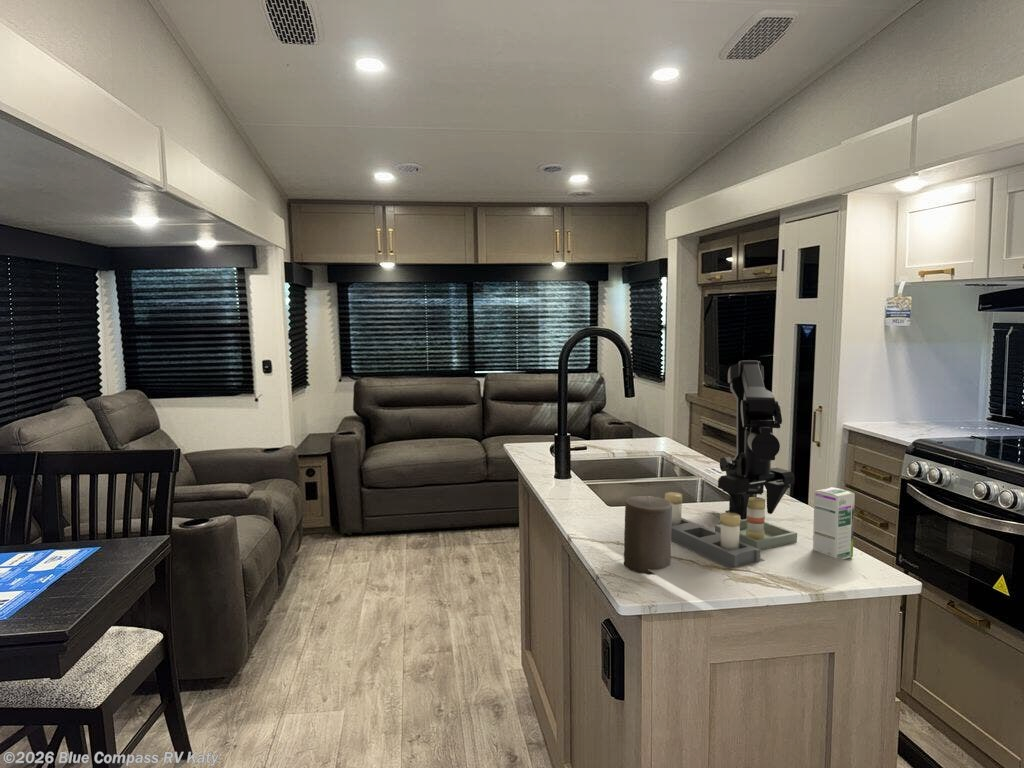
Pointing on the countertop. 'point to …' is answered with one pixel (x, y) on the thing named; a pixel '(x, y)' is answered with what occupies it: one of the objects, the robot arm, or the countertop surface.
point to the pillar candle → (647, 533)
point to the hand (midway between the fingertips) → (755, 516)
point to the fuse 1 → (675, 506)
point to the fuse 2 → (730, 531)
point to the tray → (772, 536)
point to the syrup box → (834, 522)
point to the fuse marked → (755, 518)
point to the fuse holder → (712, 545)
